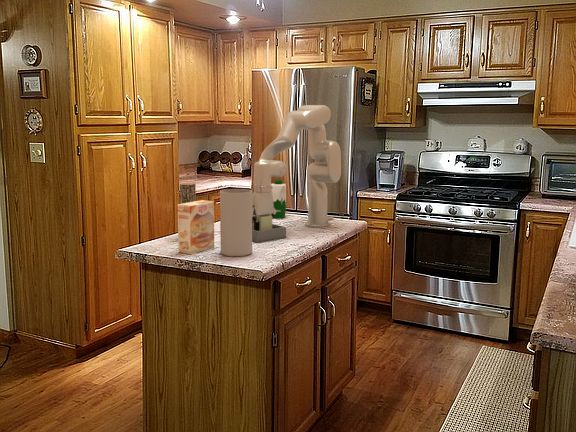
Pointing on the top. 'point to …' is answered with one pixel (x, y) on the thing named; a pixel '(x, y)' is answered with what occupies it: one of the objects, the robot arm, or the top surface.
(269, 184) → the robot arm
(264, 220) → the pale yellow block
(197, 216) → the coffeecake box
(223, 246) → the cylinder vase
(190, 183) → the bark textured wooden post
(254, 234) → the tub
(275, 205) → the milk carton
